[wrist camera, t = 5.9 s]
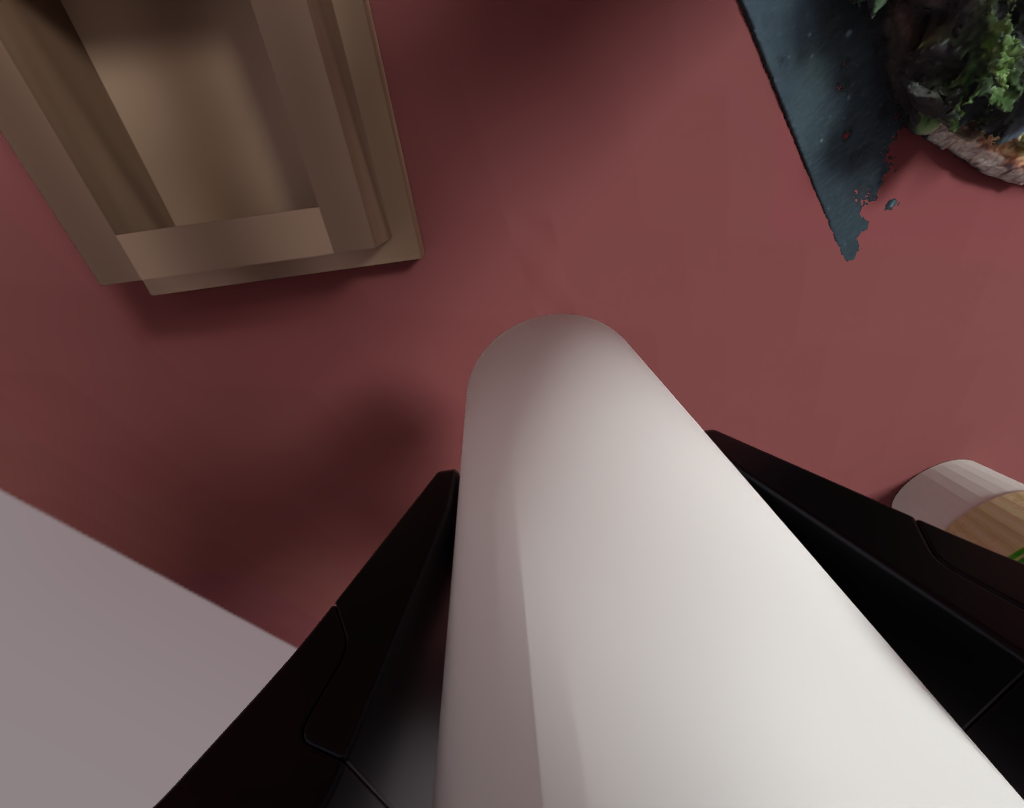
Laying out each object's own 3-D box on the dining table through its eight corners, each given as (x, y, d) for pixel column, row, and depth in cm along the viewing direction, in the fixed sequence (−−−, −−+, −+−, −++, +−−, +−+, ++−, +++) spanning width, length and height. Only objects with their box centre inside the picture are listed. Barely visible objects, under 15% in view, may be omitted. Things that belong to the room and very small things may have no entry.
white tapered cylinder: (644, 298, 10) (1885, 1240, 1) (639, 454, 12) (1006, 1111, 4) (448, 330, 10) (194, 1409, 1) (484, 478, 12) (483, 1171, 4)
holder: (334, -153, 12) (270, -298, 8) (424, 253, 18) (410, 272, 14) (-47, -99, 12) (-276, -219, 8) (170, 289, 18) (91, 316, 14)
